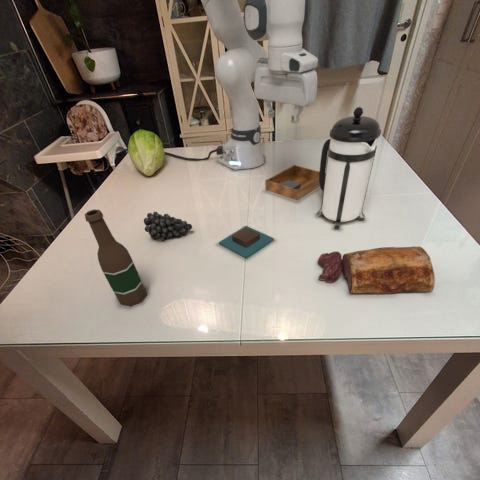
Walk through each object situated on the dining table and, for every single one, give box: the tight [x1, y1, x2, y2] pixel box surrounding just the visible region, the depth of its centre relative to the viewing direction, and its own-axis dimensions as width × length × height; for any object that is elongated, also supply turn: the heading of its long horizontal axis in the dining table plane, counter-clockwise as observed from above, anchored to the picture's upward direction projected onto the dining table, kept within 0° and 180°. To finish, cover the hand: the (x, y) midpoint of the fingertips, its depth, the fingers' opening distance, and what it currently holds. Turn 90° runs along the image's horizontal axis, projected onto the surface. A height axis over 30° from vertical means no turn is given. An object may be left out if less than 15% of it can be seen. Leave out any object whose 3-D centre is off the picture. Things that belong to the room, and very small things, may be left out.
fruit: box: [143, 211, 193, 242], centre depth 95 cm, size 9×8×15 cm
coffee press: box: [316, 106, 382, 230], centre depth 86 cm, size 17×16×30 cm
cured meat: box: [317, 246, 436, 295], centre depth 75 cm, size 18×25×7 cm
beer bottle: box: [84, 208, 148, 307], centre depth 70 cm, size 8×8×24 cm
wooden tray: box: [264, 164, 321, 201], centre depth 112 cm, size 15×17×4 cm
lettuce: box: [127, 128, 166, 177], centre depth 136 cm, size 15×24×16 cm
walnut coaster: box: [231, 226, 260, 248], centre depth 90 cm, size 6×6×2 cm
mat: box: [218, 225, 275, 259], centre depth 91 cm, size 12×12×1 cm
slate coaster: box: [281, 180, 301, 190], centre depth 111 cm, size 6×6×2 cm
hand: (282, 120), depth 89 cm, fingers open, 8 cm apart
